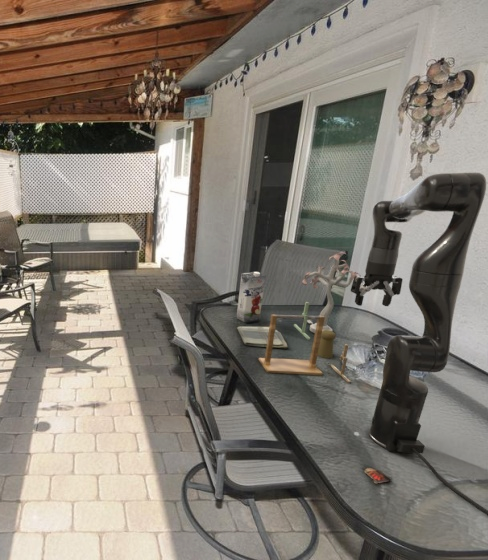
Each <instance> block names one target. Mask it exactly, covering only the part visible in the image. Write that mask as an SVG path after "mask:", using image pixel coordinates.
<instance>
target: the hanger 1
mask: <svg viewBox="0 0 488 560" xmlns="http://www.w3.org/2000/svg"><path fill="white" fill-rule="evenodd" d="M309 307H310V302H308V301H305V303H304V308H303V312H302V313H301V316H304V319H303V323H302V328H301V327H299V325H298V324H297V323H293V327H294V328H295V329H296V330H297V331H298V332H299V333H300V334H301V335H302V336H303V337H304V338H305V339H306V340H307V341H310V340H311V337H310V336H309V335H308V334H307V333H306V328H307V324H308V322H307V320H308V319H307V318H308V316H309V315H308V312H309Z"/></svg>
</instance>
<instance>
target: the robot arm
mask: <svg viewBox="0 0 488 560" xmlns="http://www.w3.org/2000/svg"><path fill="white" fill-rule="evenodd" d="M486 191H487V179H486V176H485V175H484V174H483V173H481V172H447V173H446V172H445V173H442V172H441V173H434V174H430V175H428V176H426V177H424V178H423V179H422V180H421V181H419V182H418V183H417V184H416V185H415V186H413V187H412V189H410V190H409V191H408V192H407V193H406V194H403V195H401V196H399V197H397V198H395V199H394V200H379V201H377V202H376V203H375V204H374V206H373V207H372V210H371V214H372V215H371V216H372V221H373V238H372V243H371V247H370V250H369V252H368V257H367V262H366V266H365V274H364V276H361V277H360V276H358V275H356V276H355V277H354V278H353V280H352V282H351V287H350V292H351V293H352V294H355V297H354V303H355V304H356V305H357V306H359V307H362V306H363V301H364V297H365V296H364V295H365V294H367V293H368V292H370V291H371V290H373V291H374V290H381V291H383V292H384V294H383V299H382V302H381V305H383V306H384V307H389V306H390V305H391V303H392V299H393V297H394V296H399V295H400V294H401V290H402V287H403V286H402V285H403V278H402V277H399V276H398V275H397V276H396V275H395V271H396V267H397V262H398V258H399V250H400V245H401V242H402V238H403V237H402V236H403V233H402V231H401V230H399V229H393V228H388V227H387V226H386V223H395V224H397V223H398V224H400V223H401V224H403V223H409V222H411V221H412V220H413V219H414V218H415V217H418V216H421V215H422V214H424V213H425V212H431V213H452V216H451V218H450V220H449V223H448V225H447V227H446V228H445V230H444V231H443V233H442V234H440V236H439V237H438V238H437V239H436V240H434V241H433V243H431V244H430V245H429V246H428V247H427V248H426V249H424V250H423V251H422V252H421V253H420V255H418V256H417V257H416V259H415V260H414V261H413V263H412V267H411V271H410V277H409V283H408V288H409V293H410V295H411V296H412V298H413V300H414V301H415V304H416V305H417V306H418V308H419V310H420V312H421V314H422V316H423V320H424V326H423V333H422V336H417V335H416V336H415V335H403V334H402V335H399V334H397V335H395V336H394V335H393V337H391V338H390V340H389V342H388V344H387V347H386V352H385V357H384V363H383V368H382V381H381V386H380V389H379V393H378V398H377V401H376V405H375V408H374V413H373V415H372V419H371V421H370V422H371V423H370V428H369V431H368V437H369V438H370V439H371V441H373V442H374V443H376V444H377V445H378V446H380V447H382V448H384V449H386V451H387V452H392V453H407V454H415V455H416V456H417V457H418V458H419V459H420V460H421V461H422V462H423V463H424V464H425V465H426V466H427V467H428V468H429V470H430V471H431V472H432V474H433V475H434V476H435V477H436V478H437V479H438V480H439V481H441V482H442V484H444V485H445V486H446V487H447V488H449V489H450V490H451V491H452V492H454V493H456V494H457V495H458V496H459V497H461V498H463V499H464V500H465V501H467V502H469V503H470V505H473V506H474V507H475V508H477V509H478V510H480V511H482V512H483V513H484V514H486V515H488V509H487V508H485V507H483V506H482V505H481V504H479V503H477V502H476V501H475V500H473V499H471V498H470V497H469V496H467V495H465V494H464V493H463V492H461V491H460V490H458V489H457V488H456V487H455V486H453V485H451V484H450V483H449V482H448V481H447V480H446V479H445V478H444V477H442V476H441V475H440V473H438V472H437V470H436V469H435V468H434V467H433V465H432V464H431V463H430V462H429V461H428V460H427V459H426V458H425V457H424V456H423V455H422V454H424V450H425V447H426V446H425V444H424V443H422V441H420V440H419V439H418V437H419V435H420V431H421V428H422V425H421V423H420V419H421V416H422V412H423V409H424V406H425V403H426V400H427V397H428V394H429V387H428V386H427V384H426V383H425V382H423V381H422V380H421V379H418V378H417V377H415V376H412V375H410V374H411V371H412V372H421V373H422V372H425V373H440V372H441V371H443V370H444V369H445V368H446V366H447V363H448V361H449V356H450V350H451V340H452V339H451V337H452V327H453V319H454V313H455V309H456V304H457V300H458V295H459V292H460V288H461V285H462V280H463V276H464V272H465V271H464V270H465V266H466V260H467V254H468V251H469V246H470V241H471V238H472V234H473V232H474V229H475V225H476V223H477V220H478V218H479V214H480V211H481V209H482V206H483V202H484V200H485V196H486ZM394 275H395V276H394ZM390 284H392V285H391V286H390Z"/></svg>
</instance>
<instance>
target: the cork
mask: <svg viewBox="0 0 488 560" xmlns="http://www.w3.org/2000/svg"><path fill="white" fill-rule="evenodd" d="M336 335H337V334H336V333H335V332H334V331H329V330H323V331H322V335H321V340H320V345H319V350H318V355H317V357H321V358H325V359H332V358H333V356H334V340H335V339H336V337H337V336H336Z"/></svg>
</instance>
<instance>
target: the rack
mask: <svg viewBox="0 0 488 560" xmlns="http://www.w3.org/2000/svg"><path fill="white" fill-rule="evenodd" d="M319 315H320V314H319ZM319 315H308V318H307V320H316V323H317V325H316V331H315V333H314V336H313V341H312V348H311V352H310V359H297V358H295V359H294V358H273V357H272V354H273V348H272V347H273V341H274V334H275V330H276V327H277V321H278V319H293V320H294V319H296V320H299V319H301V320H304V316H302V315H297V314H295V315H292V314H291V315H289V314H274V313H273V314H271V315H270V321H269V326H268V327H269V334H268V341H267V347H265V348H266V349H265V356H264V357H258V361H259V362H260V364H261V365H262V367H263V368H264V370H265V371H266V373H269V374H286V375H287V374H289V375H292V374H293V375H308V376H311V375H312V376H323V372H322V371H321V370H320V369H319V367H317V365H316V364H317V360H318V350H319V345H320V340H321V338H322V337H321V335H322V330H323V325H324V319H325V317H324V316H319Z"/></svg>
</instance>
